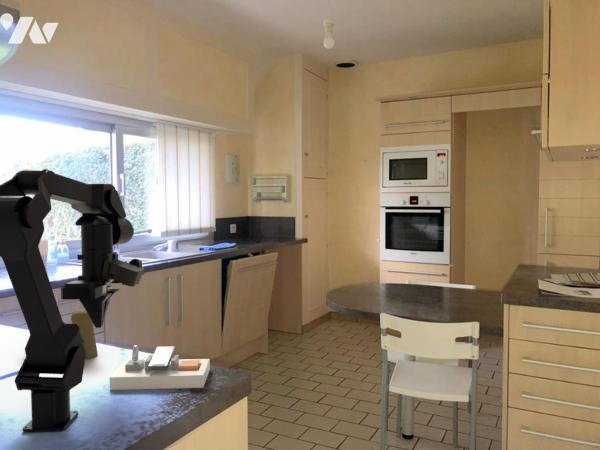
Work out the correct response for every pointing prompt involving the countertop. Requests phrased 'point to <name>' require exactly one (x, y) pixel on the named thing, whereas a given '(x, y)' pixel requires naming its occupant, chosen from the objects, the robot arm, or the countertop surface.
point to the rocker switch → (161, 358)
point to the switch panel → (158, 375)
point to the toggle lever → (135, 353)
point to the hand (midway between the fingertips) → (99, 327)
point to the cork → (85, 332)
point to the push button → (189, 365)
